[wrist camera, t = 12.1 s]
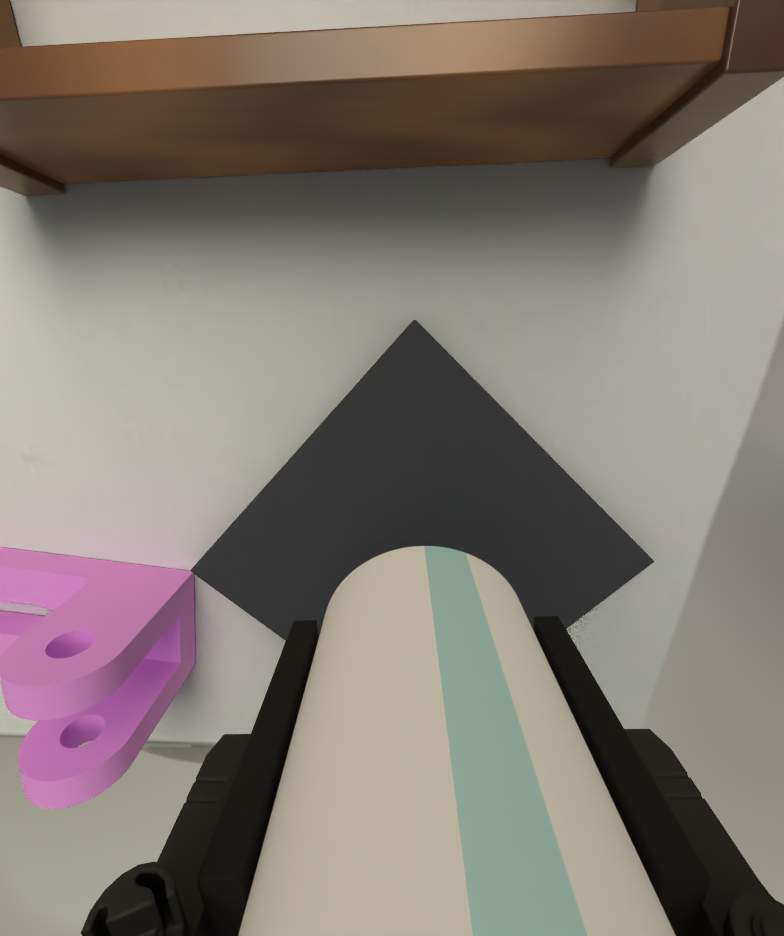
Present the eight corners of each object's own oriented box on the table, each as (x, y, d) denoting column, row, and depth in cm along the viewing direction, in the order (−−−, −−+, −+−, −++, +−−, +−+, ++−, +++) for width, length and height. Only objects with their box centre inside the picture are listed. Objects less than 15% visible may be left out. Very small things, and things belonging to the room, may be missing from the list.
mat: (414, 319, 16) (414, 318, 15) (646, 555, 18) (654, 561, 18) (195, 564, 19) (189, 571, 18) (420, 729, 22) (421, 739, 21)
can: (487, 711, 16) (719, 1673, 4) (313, 678, 15) (70, 1632, 4) (546, 558, 14) (1283, 1643, 2) (345, 517, 13) (28, 1559, 2)
